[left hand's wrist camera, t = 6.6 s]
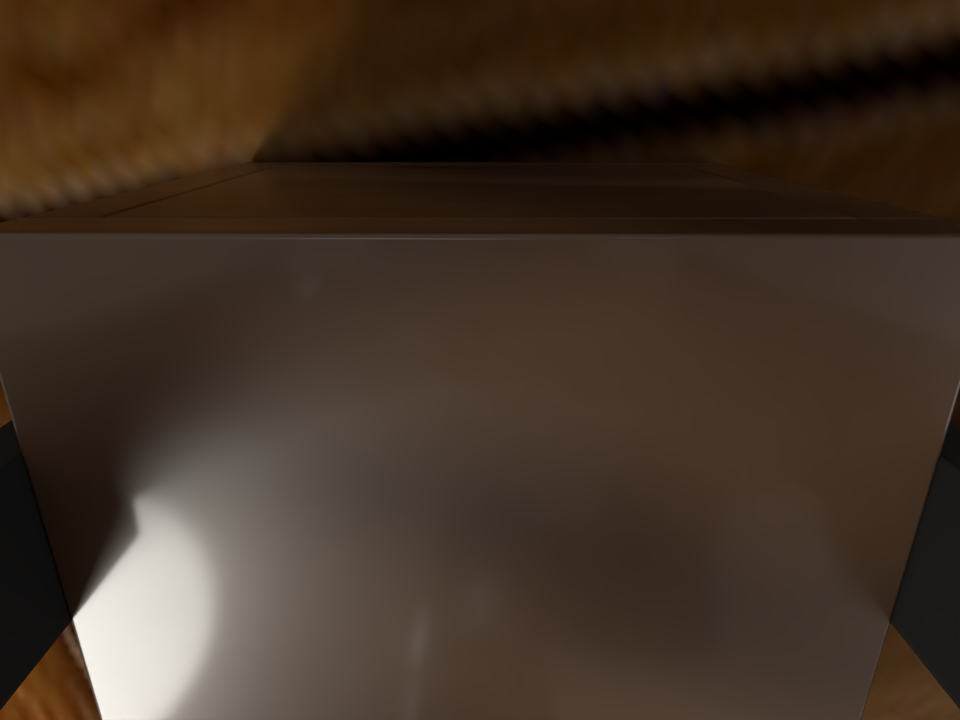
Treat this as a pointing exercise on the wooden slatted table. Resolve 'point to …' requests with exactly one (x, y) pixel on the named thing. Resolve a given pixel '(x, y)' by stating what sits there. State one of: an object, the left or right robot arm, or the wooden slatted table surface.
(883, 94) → the wooden slatted table surface
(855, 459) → the cabinet
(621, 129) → the wooden slatted table surface
